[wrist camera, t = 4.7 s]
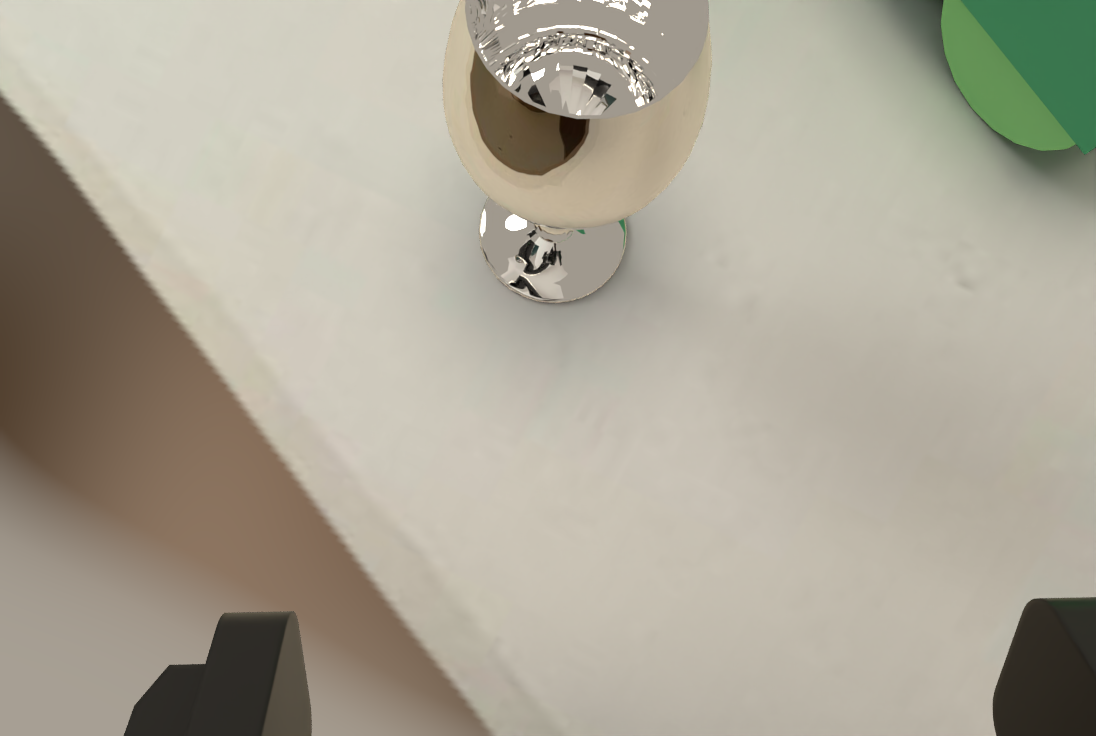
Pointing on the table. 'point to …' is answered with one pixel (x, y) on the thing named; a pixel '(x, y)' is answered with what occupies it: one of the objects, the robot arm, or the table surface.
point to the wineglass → (572, 126)
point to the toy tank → (1027, 67)
